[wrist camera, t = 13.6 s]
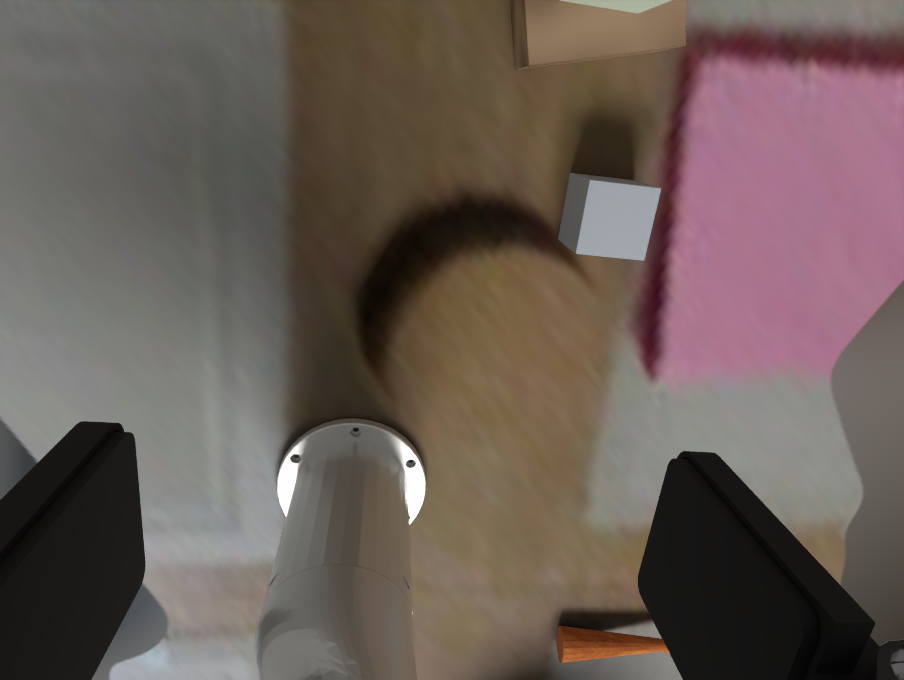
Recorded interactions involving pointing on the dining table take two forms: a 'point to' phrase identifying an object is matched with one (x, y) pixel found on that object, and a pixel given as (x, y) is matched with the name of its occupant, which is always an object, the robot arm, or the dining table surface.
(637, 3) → the sage block
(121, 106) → the dining table surface
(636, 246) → the slate block
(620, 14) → the walnut base block
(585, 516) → the dining table surface
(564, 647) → the purple and orange maraca
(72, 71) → the dining table surface
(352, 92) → the dining table surface
